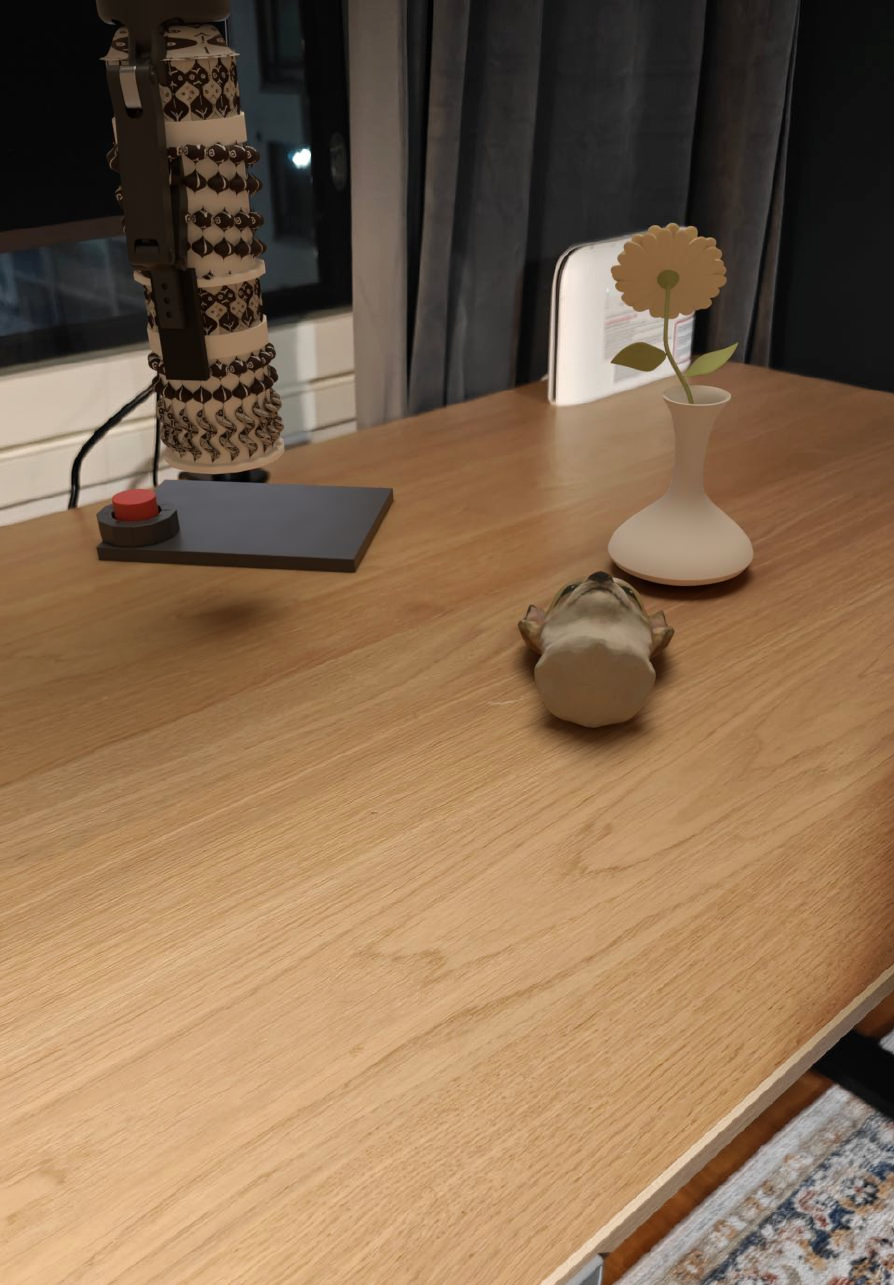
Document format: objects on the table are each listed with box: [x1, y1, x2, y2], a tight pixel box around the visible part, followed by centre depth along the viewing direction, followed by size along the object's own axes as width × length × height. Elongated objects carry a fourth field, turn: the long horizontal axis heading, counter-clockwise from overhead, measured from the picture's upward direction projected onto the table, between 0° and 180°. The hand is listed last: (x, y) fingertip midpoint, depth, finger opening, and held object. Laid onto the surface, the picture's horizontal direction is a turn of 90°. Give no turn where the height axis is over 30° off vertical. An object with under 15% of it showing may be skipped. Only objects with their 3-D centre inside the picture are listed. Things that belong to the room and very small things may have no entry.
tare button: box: [111, 488, 159, 522], centre depth 95 cm, size 4×4×2 cm
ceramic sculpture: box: [517, 570, 675, 729], centre depth 74 cm, size 11×9×15 cm
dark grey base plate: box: [95, 479, 395, 574], centre depth 99 cm, size 23×16×3 cm
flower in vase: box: [607, 222, 754, 587], centre depth 84 cm, size 13×11×25 cm
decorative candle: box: [99, 22, 286, 475], centre depth 72 cm, size 9×9×25 cm
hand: (212, 359), depth 76 cm, fingers closed on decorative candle, 8 cm apart
